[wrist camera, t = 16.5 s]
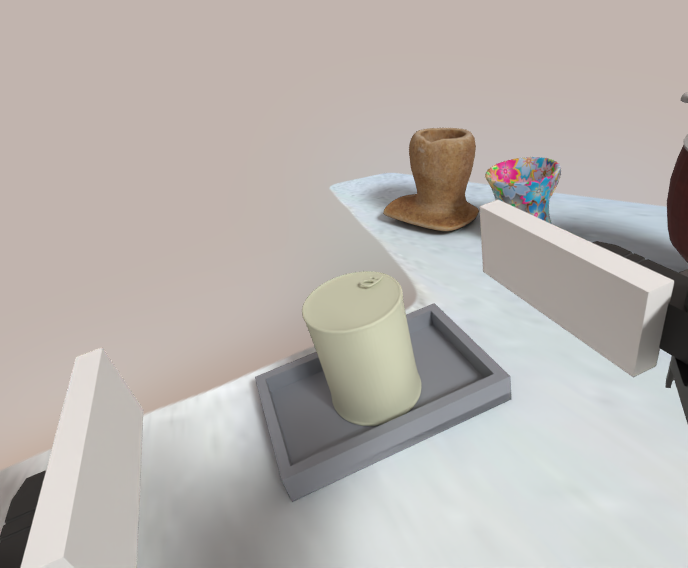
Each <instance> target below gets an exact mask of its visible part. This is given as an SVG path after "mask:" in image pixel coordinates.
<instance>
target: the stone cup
mask: <svg viewBox="0 0 688 568" xmlns="http://www.w3.org/2000/svg"><path fill="white" fill-rule="evenodd" d="M475 148H476V145H475V139H474V137H473V135H472V133H471V132H469V131H467V130H464V129H457V128H430V129H423V130H419V131H417V132H416V133H415V134H414V135H413V137H412V138H411V141H410V145H409V156H410V164H411V170H412V173H413V177H414V180H415V184H416V188H417V194H413V195H406V196H402V197H399V198H397V199H395V200H394V201H392V202H391V203H390V204H389V205H388V206H387V207H386V208H385V209H384V215H386V216H388V217H391V218H394V219H397V220H400V221H403V222H407V223H410V224H413V225H417V226H421V227H425V228H429V229H434V230H439V231H452V230H456V229H459V228H461V227H463V226H465V225H467V224H469V223H470V222H471V221H473V220H474V219H475V218H476V216H477V214H478V212H479V210H478V208H476V207H475V206H473V205H472V204H470V203H468V202H467V201H466V198H465V191H466V187H467V184H468V180H469V177H470V175H471V171H472V167H473V161H474V157H475Z"/></svg>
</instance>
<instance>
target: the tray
mask: <svg viewBox="0 0 688 568" xmlns="http://www.w3.org/2000/svg"><path fill="white" fill-rule="evenodd" d="M406 318H407V323H408V329H409V334H410V339H411V344H412V349H413V353H414V358H415V363H416V367H417V371H418V374H419V376H420V379H421V387H422V388H421V394H420V397H419V399H418V401H417V403H416V404H415V405H414V407H413V408H412V409H411V410H410V411H409V412H408V413H407V414H404V415H402V416H400V417H398V418H396V419H393V420H391V421H389V422H387V423H385V424H382V425H378V426H361V425H357V424H354V423H351V422H349V421H347V420H345V419H344V418H342V417H341V416H340V415H339V414H338V413H337V411H336V410H335V408H334V405H333V402H332V395H331V392H330V389H329V386H328V383H327V380H326V377H325V374H324V371H323V368H322V365H321V363H320V360H319V357H318V354H317V352H315V353H312V354H310V355H308V356H305V357H303V358H300V359H298V360H295V361H293V362H291V363H288V364H286V365H283V366H281V367H278V368H276V369H274V370H271V371H269V372H266V373H264V374H261V375H259V376H256V377H255V379H256V383H257V387H258V391H259V395H260V399H261V403H262V406H263V410H264V414H265V418H266V422H267V426H268V430H269V434H270V437H271V441H272V445H273V449H274V453H275V457H276V461H277V465H278V468H279V472H280V476H281V480H282V482H283V484H284V486H285V488H286V490H287V493H288V495H289V497H290V499H291V501H295V500H297V499H299V498H301V497H303V496H305V495H307V494H310V493H312V492H314V491H316V490H318V489H320V488H322V487H325V486H327V485H329V484H331V483H333V482H335V481H337V480H340V479H342V478H344V477H346V476H348V475H350V474H352V473H355V472H357V471H359V470H361V469H363V468H365V467H367V466H370V465H372V464H374V463H376V462H378V461H380V460H382V459H384V458H387V457H389V456H391V455H393V454H395V453H397V452H399V451H402V450H404V449H406V448H408V447H410V446H412V445H414V444H417V443H419V442H421V441H423V440H425V439H427V438H429V437H432V436H434V435H436V434H438V433H440V432H442V431H444V430H447V429H449V428H451V427H453V426H455V425H457V424H459V423H462V422H464V421H466V420H468V419H470V418H472V417H474V416H477V415H479V414H481V413H483V412H485V411H487V410H489V409H491V408H494V407H496V406H498V405H500V404H502V403H504V402H506V401H509V400H511V381H510V375H508V374H507V373H506V372H505V371H504V370H503V369H502V368H501V367H500V366H499V365H498V364H497V363H496V362H495V361H494V360H493V359H492V358H491V357H490V356H489V355H488V354H487V353H486V352H485V351H483V350H482V349H481V348H480V347H479V346H478V345H477V344H476V343H475V342H474V341H473V340H472V339H471V338H470V337H469V336H468V335H467V334H466V333H465V332H464V331H463V330H462V329H461V328H460V327H458V326H457V325H456V324H455V323H454V322H453V321H452V320H451V319H450V318H449V317H448V316H447V315H446V314H445V313H444V312H443V311H442V310H441V309H440V308H439V307H438V306H437V305H436V304H435V303H434V304H431V305H429V306H427V307H424V308H422V309H419V310H417V311H414V312H412V313H410V314H407V315H406Z"/></svg>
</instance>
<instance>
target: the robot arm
mask: <svg viewBox="0 0 688 568" xmlns="http://www.w3.org/2000/svg"><path fill="white" fill-rule="evenodd" d="M480 223H481V241H482V259H483V272H484V273H486V274H487V275H489V276H490V277H492V278H493V279H494V280H496V281H497V282H499V283H500V284H502V285H503V286H504V287H506V288H507V289H509V290H510V291H511V292H513V293H514V294H516V295H517V296H519V297H520V298H521V299H523V300H524V301H526V302H527V303H528V304H530V305H531V306H533V307H534V308H536V309H537V310H538V311H540V312H541V313H543V314H544V315H546V316H547V317H548V318H550V319H551V320H553V321H554V322H555V323H557V324H558V325H560V326H561V327H563V328H564V329H565V330H567V331H568V332H570V333H571V334H573V335H574V336H575V337H577V338H578V339H580V340H581V341H582V342H584V343H585V344H587V345H588V346H590V347H591V348H592V349H594V350H595V351H597V352H598V353H599V354H601V355H602V356H604V357H605V358H607V359H608V360H609V361H611V362H612V363H614V364H615V365H617V366H618V367H619V368H621V369H622V370H624V371H625V372H626V373H628V374H629V375H631V376H632V377H635V376H637V375H639V374H641V373H643V372H645V371H647V370H649V369H651V368H653V367H655V366H656V365H657V360H658V355H659V351H660V349H662V350H664V351H665V352H667V353H669V354H670V355H672V357H671V361H670V366H669V370H668V374H667V378H666V388H671V384H672V381H673V380H675V384H676V387H677V390H678V393H679V397H680V400H681V403H682V407H683V410H684V413H685V416H686V420H687V423H688V277H687V276H684V275H682V274H680V273H678V272H675V271H673V270H671V269H669V268H666V267H664V266H662V265H660V264H657V263H655V262H653V261H651V260H645V258H644V257H642V256H639V255H637V254H632V252H630V251H628V250H626V249H623V248H621V247H619V246H617V245H613V244H608V243H603V242H598V241H596V242H593V243H591V242H589V241H587V240H585V239H583V238H581V237H578V236H576V235H574V234H572V233H570V232H568V231H565V230H563V229H561V228H559V227H557V226H555V225H552V224H550V223H548V222H546V221H544V220H542V219H539V218H537V217H535V216H533V215H531V214H529V213H526V212H524V211H522V210H520V209H518V208H515V207H513V206H511V205H509V204H507V203H505V202H502V201H500V200H495V201H493V202H490V203H487V204H484V205H482V206H480ZM142 431H143V408H142V407H141V405H140V404H139V402H138V401H137V399H136V398H135V396H134V394H133V393H132V391H131V390H130V388H129V387H128V385H127V384H126V382H125V381H124V379H123V378H122V376H121V375H120V373H119V372H118V370H117V369H116V367H115V366H114V364H113V362H112V361H111V359H110V358H109V356H108V355H107V353H106V352H105V350H104V349H103V347H102V348H99V349H96V350H94V351H91V352H88V353H85V354H83V355H80V356H77V357H76V359H75V363H74V367H73V371H72V375H71V378H70V383H69V386H68V390H67V394H66V397H65V401H64V405H63V409H62V413H61V416H60V420H59V424H58V428H57V432H56V435H55V439H54V443H53V447H52V450H51V454H50V458H49V462H48V465H47V469H46V471H43V472H41V473H38V474H36V475H33V476H31V477H29V478H26V480H25V481H24V483H23V484H22V486H21V487H20V489H19V490H18V492H17V493H16V495H15V496H14V498H13V499H12V501H11V504H10V507H9V510H8V513H7V516H6V519H5V523H6V525H4V526H3V529H2V532H1V535H0V568H137V549H138V525H139V501H140V478H141V454H142Z"/></svg>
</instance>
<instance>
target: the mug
mask: <svg viewBox="0 0 688 568" xmlns="http://www.w3.org/2000/svg"><path fill="white" fill-rule="evenodd" d="M560 175H561V168H560V165H559V164H558V163H557V162H556V161H554V160H551V159H547V158H540V157H526V158H517V159H512V160H508V161H504V162H501V163H498V164H496V165H494V166H492V167H491V168H490V169H488V171H487V172H486V176H485V177H486V179H487V181H488V183H489V184H490V186H491V188H492V191H493V193H494V196H495V199H496V200H500V201H502V202H505V203H507V204H509V205H511V206H513V207H515V208H518V209H520V210H522V211H524V212H526V213H529V214H531V215H533V216H535V217H537V218H539V219H542V220H544V221H546V222H548V223H550V224H552V223H551V220H550V216H549V199H550V197H551V196H552V194H553V192H554V191H555V189H556V187H557V184H558V182H559V179H560Z"/></svg>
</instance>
